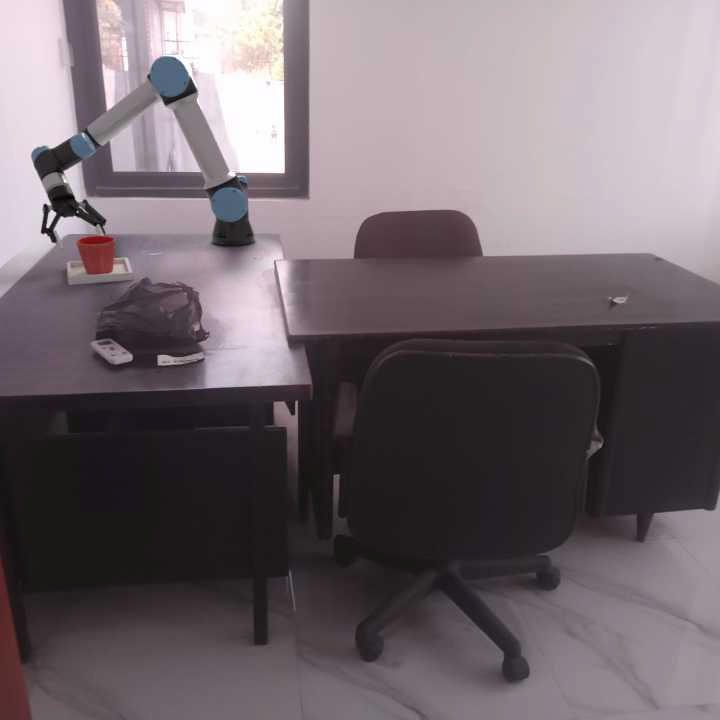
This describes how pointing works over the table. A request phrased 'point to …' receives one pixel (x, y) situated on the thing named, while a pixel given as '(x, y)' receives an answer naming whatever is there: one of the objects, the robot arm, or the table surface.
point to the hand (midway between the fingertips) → (83, 247)
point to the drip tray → (80, 275)
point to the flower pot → (97, 254)
